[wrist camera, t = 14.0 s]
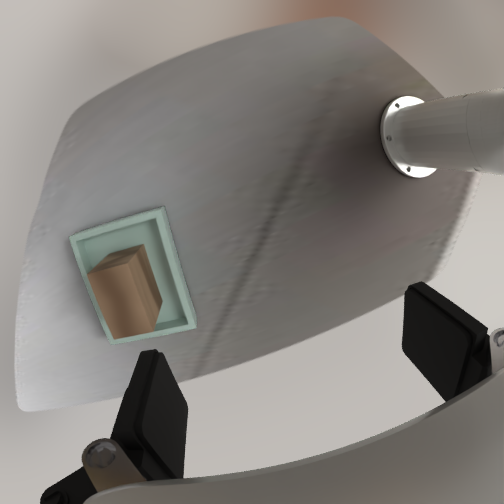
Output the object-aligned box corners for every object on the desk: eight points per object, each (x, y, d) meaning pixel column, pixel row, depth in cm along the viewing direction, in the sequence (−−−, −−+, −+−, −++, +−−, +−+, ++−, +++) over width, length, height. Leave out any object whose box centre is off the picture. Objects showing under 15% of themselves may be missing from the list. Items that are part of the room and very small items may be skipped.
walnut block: (143, 243, 35) (127, 263, 28) (162, 301, 37) (153, 331, 30) (109, 253, 35) (86, 274, 27) (129, 308, 37) (114, 339, 29)
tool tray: (164, 206, 35) (160, 209, 32) (197, 317, 40) (196, 328, 37) (78, 231, 34) (68, 236, 31) (116, 334, 39) (110, 344, 36)
